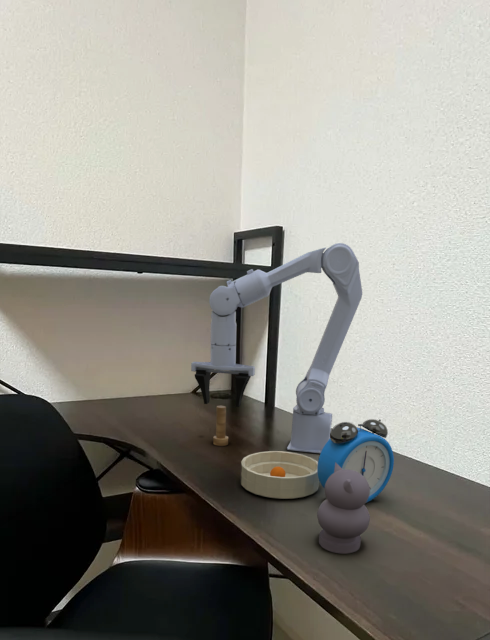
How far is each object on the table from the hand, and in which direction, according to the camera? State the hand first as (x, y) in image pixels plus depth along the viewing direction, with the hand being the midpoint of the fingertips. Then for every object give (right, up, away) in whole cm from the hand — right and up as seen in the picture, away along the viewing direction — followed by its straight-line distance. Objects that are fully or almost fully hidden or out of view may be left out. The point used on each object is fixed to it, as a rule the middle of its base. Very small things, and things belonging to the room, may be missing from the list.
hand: (222, 404), depth 121 cm
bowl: (+12, -20, -20) cm, 31 cm away
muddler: (-1, -9, +3) cm, 9 cm away
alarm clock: (+26, -23, -25) cm, 42 cm away
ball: (+12, -17, -20) cm, 29 cm away
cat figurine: (+21, -29, -41) cm, 55 cm away
